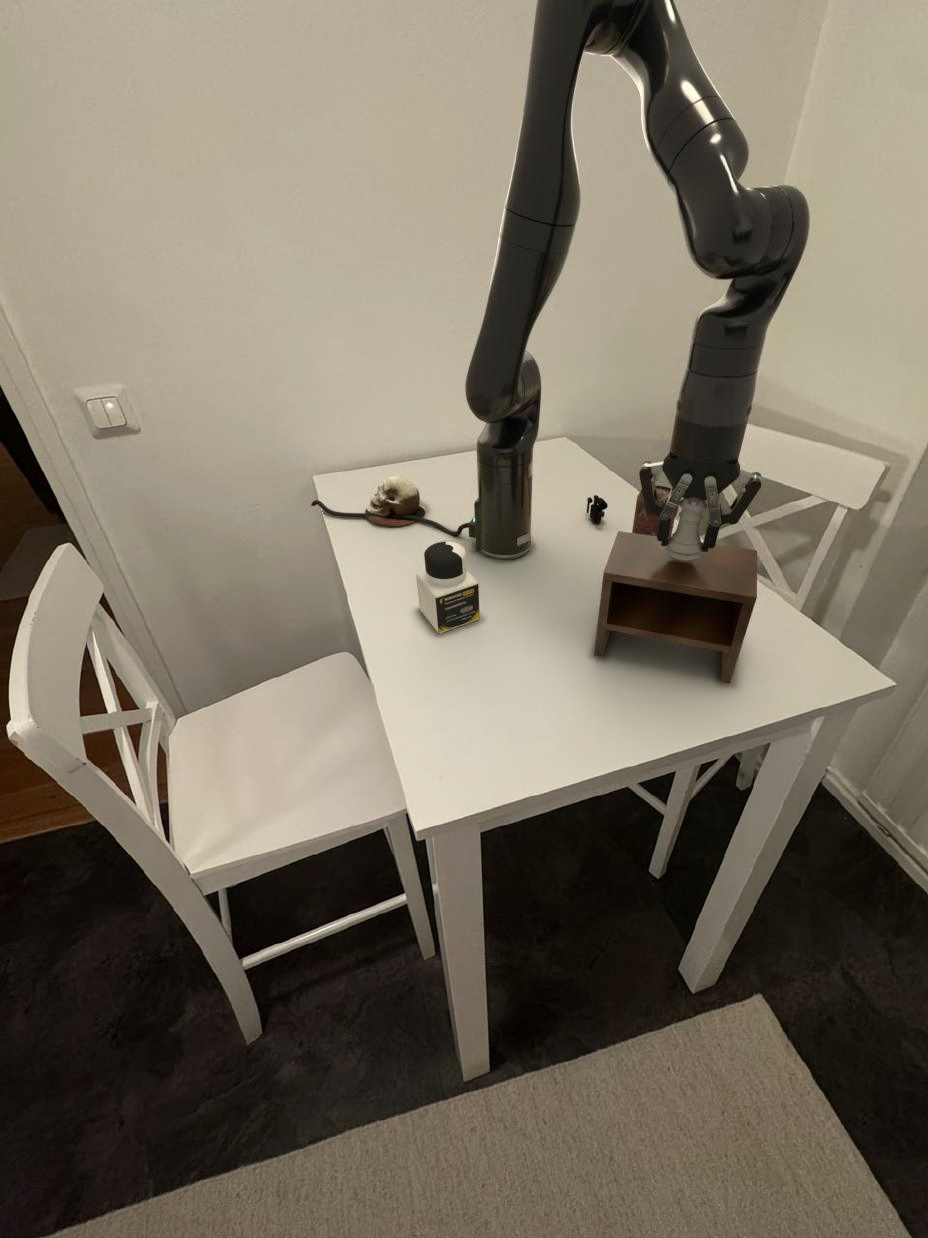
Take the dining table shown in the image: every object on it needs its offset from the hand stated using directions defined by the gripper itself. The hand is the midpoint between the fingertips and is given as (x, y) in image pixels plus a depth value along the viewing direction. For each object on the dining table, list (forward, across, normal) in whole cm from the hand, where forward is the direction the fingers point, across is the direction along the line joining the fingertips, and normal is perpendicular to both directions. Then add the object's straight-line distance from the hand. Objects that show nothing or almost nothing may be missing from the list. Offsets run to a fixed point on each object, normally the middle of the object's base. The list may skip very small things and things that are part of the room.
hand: (684, 545), depth 76 cm
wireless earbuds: (+17, +16, -33) cm, 40 cm away
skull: (+17, +55, -25) cm, 63 cm away
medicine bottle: (+16, +32, +3) cm, 36 cm away
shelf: (+16, 0, 0) cm, 16 cm away
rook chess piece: (+1, 0, 0) cm, 1 cm away
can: (+16, +5, -19) cm, 26 cm away
